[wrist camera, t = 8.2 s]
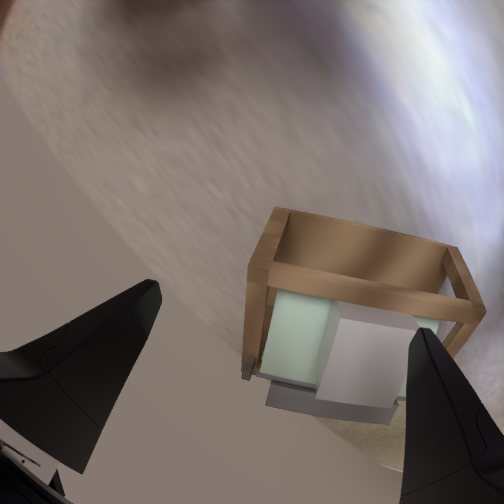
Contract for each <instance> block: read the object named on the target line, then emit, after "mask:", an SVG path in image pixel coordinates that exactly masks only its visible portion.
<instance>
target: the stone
mask: <svg viewBox="0 0 504 504" xmlns="http://www.w3.org/2000/svg"><path fill="white" fill-rule="evenodd" d="M418 328H420V326H419V325H418V323H417V322H416V321H415V319H414V318H413V317H412V315H411V314H406V313H400V312H395V311H390V310H384V309H379V308H373V307H368V306H363V305H358V304H353V303H348V302H343V301H338V300H332V304H331V308H330V312H329V315H328V319H327V323H326V327H325V330H324V334H323V338H322V341H321V345H320V348H319V352H318V355H317V374H316V393H315V398H316V399H321V400H328V401H334V402H341V403H348V404H355V405H363V406H372V407H382V408H391V407H392V405H393V403H394V401H395V399H396V397H397V395H398V393H399V391H400V389H401V387H402V384H403V382H404V380H405V378H406V375H407V367H408V348H409V344H410V342H411V340H412V338H413V337H414V335H415V333H416V331H417V330H418Z"/></svg>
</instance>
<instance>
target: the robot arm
mask: <svg viewBox="0 0 504 504" xmlns="http://www.w3.org/2000/svg"><path fill="white" fill-rule="evenodd" d="M161 304H162V295H161V291H160V287H159V283H158V282H157V281H155V280H151V279H146V280H144V281H142V282H140V283H138V284H136V285H135V286H133V287H131V288H129V289H127V290H125V291H124V292H122V293H120V294H118V295H116V296H115V297H113V298H111V299H109V300H107V301H105V302H104V303H102V304H100V305H98V306H97V307H95V308H93V309H91V310H89V311H88V312H86V313H84V314H82V315H80V316H79V317H77V318H75V319H73V320H72V321H70V322H69V323H66V324H65V325H63V326H61V327H59V328H58V329H55V330H54V331H52V332H50V333H48V334H46V335H44V336H42V337H40V338H38V339H36V340H34V341H31V342H29V343H27V344H25V345H23V346H21V347H19V348H17V349H14V350H12V351H8V352H0V504H73V503H72V502H70V501H69V500H67V499H66V498H64V496H65V493H64V490H63V487H62V484H61V481H60V477H59V473H58V470H57V468H58V466H59V464H60V462H61V463H62V464H64V465H66V466H67V467H69V468H71V469H73V470H74V471H76V472H78V473H80V474H83V472H84V470H85V468H86V466H87V463H88V461H89V459H90V457H91V454H92V452H93V450H94V448H95V445H96V443H97V441H98V439H99V437H100V435H101V432H102V430H103V428H104V426H105V423H106V421H107V419H108V417H109V415H110V413H111V410H112V409H113V406H114V404H115V402H116V400H117V398H118V396H119V394H120V392H121V389H122V388H123V386H124V383H125V382H126V380H127V378H128V376H129V374H130V372H131V370H132V368H133V366H134V364H135V362H136V360H137V358H138V356H139V354H140V352H141V351H142V349H143V347H144V345H145V343H146V341H147V339H148V336H149V334H150V331H151V329H152V326H153V324H154V321H155V319H156V316H157V314H158V311H159V309H160V306H161ZM399 504H504V435H503V434H502V432H501V431H500V430H499V428H498V427H497V425H496V424H495V422H494V421H493V419H492V418H491V416H490V414H489V413H488V411H487V410H486V408H485V407H484V405H483V403H481V400H480V399H479V397H478V395H477V394H476V392H475V391H474V389H473V388H472V386H471V385H470V383H469V382H468V380H467V379H466V377H465V376H464V374H463V373H462V371H461V370H460V368H459V367H458V365H457V364H456V363H455V361H454V360H453V358H452V357H451V355H450V354H449V353H448V351H447V350H446V348H445V347H444V346H443V344H442V343H441V342H440V340H439V339H438V337H437V336H436V335H435V333H434V332H433V331H432V330H431V329H430V328H425V327H420V328H418V330H417V331H416V333H415V335H414V337H413V338H412V340H411V342H410V344H409V348H408V367H407V381H406V437H405V456H404V468H403V479H402V488H401V497H400V502H399Z"/></svg>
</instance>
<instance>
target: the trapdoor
mask: <svg viewBox="0 0 504 504" xmlns="http://www.w3.org/2000/svg"><path fill="white" fill-rule="evenodd" d="M332 300H333V299H328V298H323V297H318V296H313V295H308V294H303V293H299V292H294V291H289V290H284V289H280V288H278V290H277V295H276V300H275V305H274V309H273V314H272V319H271V323H270V328H269V333H268V337H267V342H266V346H265V351H264V355H263V360H262V364H261V368H259V367H258V370H257V373H256V376H257V377H261V378H266V379H270V380H272V382H271V385H270V389H269V393H268V396H267V400H266V404H265V405H266V406H270V407H274V408H279V409H283V410H288V411H293V412H298V413H304V414H309V415H314V416H320V417H327V418H333V419H340V420H347V421H355V422H364V423H374V424H386V425H389V423H390V421H391V419H392V417H393V415H394V413H395V411H396V409H397V407H398V403H397V401H396V400H398V401H406V381H407V375H406V378H405V380H404V382H403V384H402V387H401V389H400V391H399V393H398V395H397V397H396V399H395V401H394V403H393V405H392V407H391V408H382V407H372V406H363V405H355V404H348V403H341V402H334V401H328V400H321V399H316V398H315V393H316V374H317V355H318V352H319V348H320V345H321V341H322V338H323V334H324V330H325V327H326V323H327V319H328V315H329V312H330V308H331V304H332ZM411 315H412V314H411ZM412 317H413V318H414V319H415V321H416V322H417V323H418V325H419V326H420V327H425V328H430V329H431V330H432V331H433V332H434V333H435V335H436V332H437V329H438V326H439V323H440V319H435V318H429V317H423V316H417V315H412Z"/></svg>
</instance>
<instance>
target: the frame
mask: <svg viewBox="0 0 504 504" xmlns="http://www.w3.org/2000/svg"><path fill="white" fill-rule="evenodd" d="M447 274H448V277H449V279H450V282H451V285H452V288H453V290H454V293H455V296H456V298H453V297H448V296H443V295H438V294H437V293H438V292H439V290H440V288H441V286H442V284H443V282H444V280H445V278H446V276H447ZM278 288H280V289H284V290H289V291H294V292H299V293H303V294H308V295H313V296H318V297H323V298H328V299H333V300H338V301H343V302H348V303H353V304H358V305H363V306H368V307H373V308H379V309H384V310H390V311H395V312H400V313H406V314H412V315H417V316H423V317H429V318H435V319H440V320H446V321H452V322H457V323H456V324H455V326H454V327H453V328H452V330H451V331H450V333H449V334H448V336H447V337H446V339H445V340H444V341H443V343H442V344H443V346H444V347H445V348H446V350H447V351H448V353H449V354H450V355H451V357H452V358H454V356H455V355H456V354H457V353H458V351H459V350H460V349H461V348H462V346H463V345H464V344H465V342H466V341H467V340H468V338H469V337H470V336H471V334H472V333H473V332H474V330H475V329H476V327H477V326H478V324H479V323H480V322H481V320H482V319H483V317H484V316H485V314H486V313H487V311H486V309H485V306H484V304H483V301H482V299H481V297H480V294H479V292H478V290H477V287H476V285H475V283H474V280H473V278H472V276H471V274H470V272H469V270H468V268H467V265H466V263H465V261H464V259H463V257H462V255H461V253H460V251H459V249H458V248H457V247H454V246H450V245H446V244H442V243H439V242H435V241H431V240H427V239H423V238H419V237H415V236H411V235H406V234H402V233H398V232H394V231H390V230H385V229H381V228H376V227H372V226H368V225H363V224H358V223H354V222H349V221H344V220H340V219H335V218H330V217H325V216H320V215H315V214H310V213H305V212H300V211H295V210H289V209H284V208H278V207H275V208H274V210H273V212H272V214H271V216H270V219H269V221H268V223H267V225H266V227H265V229H264V231H263V234H262V236H261V238H260V240H259V242H258V244H257V247H256V249H255V251H254V253H253V255H252V257H251V259H250V262H249V264H248V274H247V289H246V304H245V320H244V336H243V351H242V368H241V371H242V379H245V380H248V381H250V378H251V375H252V374H253V375H256V373H257V370H258V367H259V368H261V364H262V360H261V357H262V353H263V350H264V347H265V344H266V341H267V337H268V333H269V328H270V323H271V319H272V314H273V309H274V305H275V300H276V295H277V290H278Z"/></svg>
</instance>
